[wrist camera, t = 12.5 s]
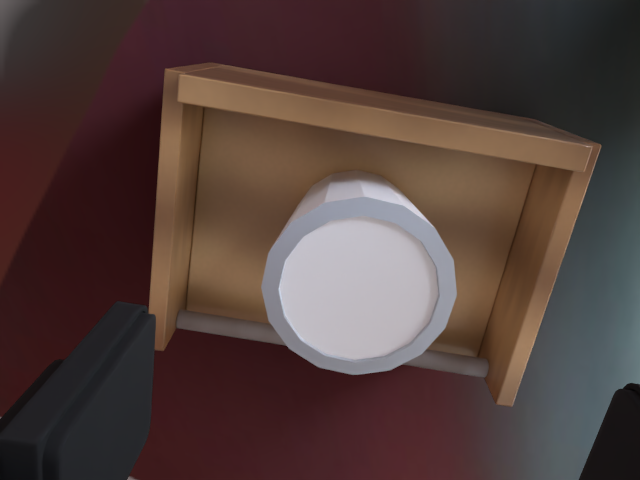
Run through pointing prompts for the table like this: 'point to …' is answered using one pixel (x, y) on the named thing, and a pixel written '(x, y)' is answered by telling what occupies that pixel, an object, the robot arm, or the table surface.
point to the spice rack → (373, 157)
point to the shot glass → (358, 277)
